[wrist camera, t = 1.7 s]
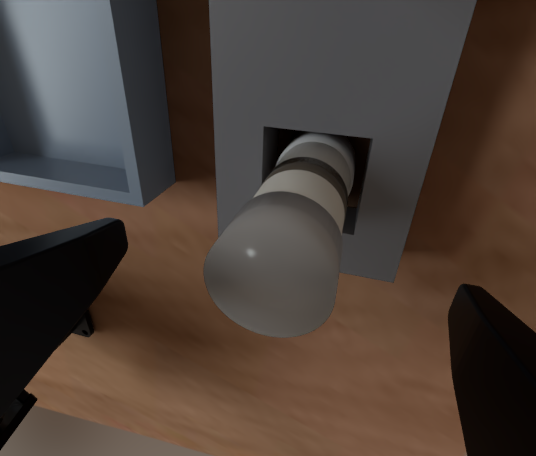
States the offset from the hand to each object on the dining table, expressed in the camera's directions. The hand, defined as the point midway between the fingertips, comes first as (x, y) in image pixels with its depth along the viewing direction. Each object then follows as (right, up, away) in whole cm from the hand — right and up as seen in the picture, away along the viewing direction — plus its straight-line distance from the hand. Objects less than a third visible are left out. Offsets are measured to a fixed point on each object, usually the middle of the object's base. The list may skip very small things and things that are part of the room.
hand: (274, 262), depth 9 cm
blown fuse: (+2, +4, +7) cm, 8 cm away
